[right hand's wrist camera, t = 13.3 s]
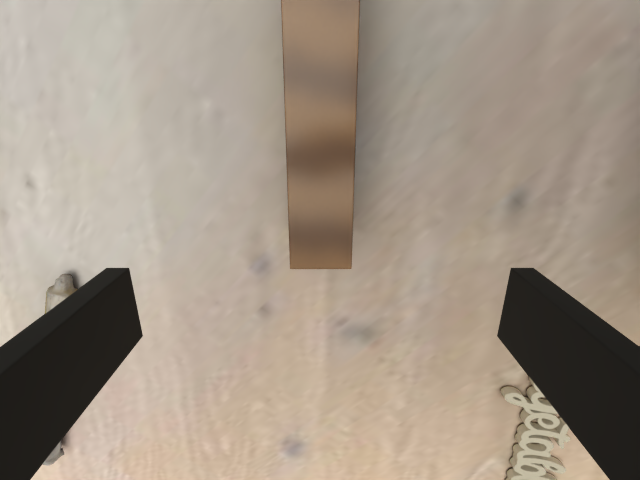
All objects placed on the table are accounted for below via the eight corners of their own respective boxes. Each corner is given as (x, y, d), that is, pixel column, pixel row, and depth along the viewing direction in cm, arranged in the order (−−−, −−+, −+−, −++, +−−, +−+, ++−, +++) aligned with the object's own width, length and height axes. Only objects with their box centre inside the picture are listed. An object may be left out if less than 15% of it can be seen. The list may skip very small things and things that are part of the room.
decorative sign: (517, 337, 37) (613, 336, 37) (512, 332, 38) (606, 331, 38) (480, 508, 46) (558, 508, 46) (477, 501, 47) (553, 500, 47)
